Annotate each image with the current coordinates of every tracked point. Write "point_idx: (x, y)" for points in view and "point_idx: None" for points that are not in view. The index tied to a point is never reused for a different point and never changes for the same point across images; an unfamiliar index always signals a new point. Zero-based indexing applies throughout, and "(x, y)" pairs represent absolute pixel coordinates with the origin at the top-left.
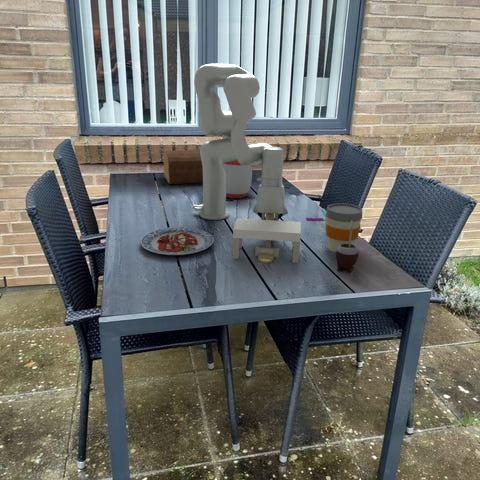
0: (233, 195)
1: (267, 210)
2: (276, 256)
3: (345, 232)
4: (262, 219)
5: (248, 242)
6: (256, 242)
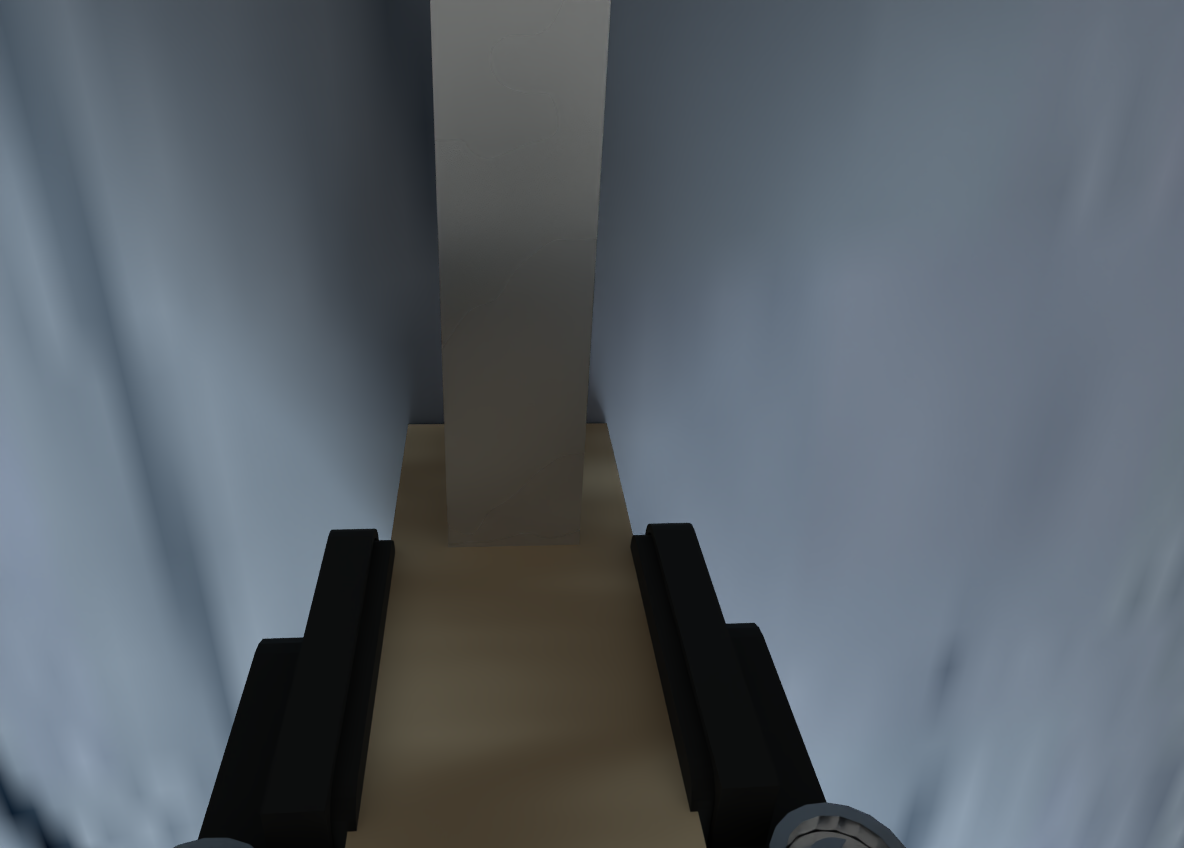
0: None
1: None
2: None
3: None
4: (845, 835)
5: (1071, 44)
6: (850, 72)
